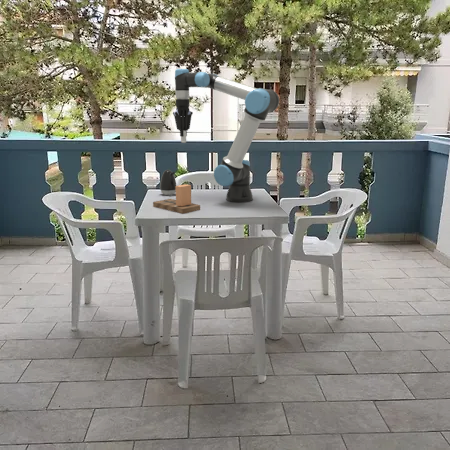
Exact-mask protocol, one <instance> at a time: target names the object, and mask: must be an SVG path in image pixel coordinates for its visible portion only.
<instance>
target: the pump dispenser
mask: <svg viewBox="0 0 450 450" xmlns="http://www.w3.org/2000/svg"><path fill="white" fill-rule="evenodd" d="M174 174H176V172H175V171H172V170H170V169H166V170H164V171H163V173H162V175H161V179H160V183H159V190H160V192H161V194H162V195H164V196H167V197H168V196H173V195H176V186H178V185H177V181H176V177H175V175H174Z"/></svg>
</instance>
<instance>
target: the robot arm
mask: <svg viewBox="0 0 450 450" xmlns="http://www.w3.org/2000/svg"><path fill="white" fill-rule="evenodd" d="M174 82H175V85H174V86H175V87H174V88H175V106H176V108H175V109H176V110H175V111H173V112H172V114H173V117H174V121H175V126H176V130H178V131H179V136H180V143H183V144H185V143H187V137H188V134H187V133H188V131H189V130H190V128H191V121H192V116H193V111H191V110H190V106H191V105H190V88H204V89H205V88H206V89H207V88H208V89H211V90H213V91H214V90H215V91H218V92H220V93H223V94H226V95H230V96H232V97H234V98H239V99H240V100H244V105H245V107H244V110H243V112H244V116H243V120H242V122H241V124H240V126H239V128H238V131H237V133H236V135H235V138H234V140H233V143H232V145H230V149H229V151H228V153H227V155H226V156H223V158H222V160H221V163H220V164H218V165H216V166H215V168H214V171H213V177H214V179H215V182H216V183H217V184H218V185H220V186H222V187H228V189H227V193H226V201H228V202H232V203H233V202H234V203H247V202H251V201H253V199H254V196H253V193H252V189H251V184H250V183H251V162H250V160H249V159H245V158H246V155H247V153H248V150H249V149H250V146H251V144H252V142H253V139H254V138H255V135H256V133H257V131H258V129H259V126H260V124H261V123H262V122H264V121H265V120H266V119H267V117H268V114H270V113H273V112H275V111H276V110H277V108H278V107H279V105H280V96H279V95H278V93H277V92H276V91H274V90H273V89H267V88H264V87H263V88H262V87H259V88H256V87H255V86H250V85H246V84H244V83H241V82H237V81H234V80H231V79H228V78H226V77H222V76H219V75H218V74H215V73H208V72H204V71H199V72H190V70H189V69H187V68H177V69H175V72H174Z"/></svg>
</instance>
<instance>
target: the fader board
mask: <svg viewBox="0 0 450 450" xmlns="http://www.w3.org/2000/svg"><path fill="white" fill-rule="evenodd" d="M152 206H153V207H154V208H159V209H161V210H166V211H171V212H174V213H177V214H178V213H179V214H181V215H183V214H188V213H192V212H196V211H200V210H201V205H200V204H196V203H192V202H191V204H190V205H185V206H177V205H176V199H173V198H167V199H161V200H158V201H157V200H156V201H153V202H152Z"/></svg>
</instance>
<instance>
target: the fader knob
mask: <svg viewBox="0 0 450 450" xmlns="http://www.w3.org/2000/svg"><path fill="white" fill-rule="evenodd" d="M175 200H176V205H177V206H185V205H190V204H191V203H192V185H191V184H179V185H177V186H176V192H175Z"/></svg>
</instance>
